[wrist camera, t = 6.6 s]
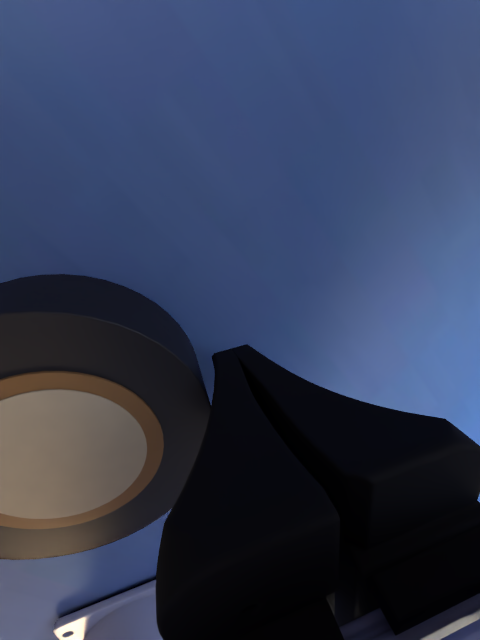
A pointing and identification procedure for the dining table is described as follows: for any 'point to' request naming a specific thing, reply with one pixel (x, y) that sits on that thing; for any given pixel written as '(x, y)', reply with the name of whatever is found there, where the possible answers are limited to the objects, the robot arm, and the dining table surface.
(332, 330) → the dining table surface
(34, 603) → the dining table surface
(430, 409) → the dining table surface
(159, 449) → the tape roll
